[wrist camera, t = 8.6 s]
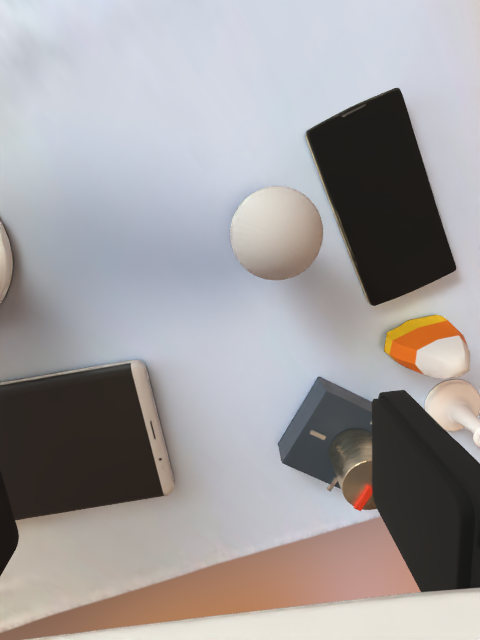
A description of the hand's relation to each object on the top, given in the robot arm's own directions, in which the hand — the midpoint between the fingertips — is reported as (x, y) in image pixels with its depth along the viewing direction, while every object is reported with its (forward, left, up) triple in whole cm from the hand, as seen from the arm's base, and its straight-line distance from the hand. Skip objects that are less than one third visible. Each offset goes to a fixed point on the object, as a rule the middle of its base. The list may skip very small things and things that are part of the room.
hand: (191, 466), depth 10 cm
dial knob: (+10, -16, -22) cm, 29 cm away
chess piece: (+20, -14, -26) cm, 35 cm away
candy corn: (+16, -7, -26) cm, 31 cm away
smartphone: (+14, +5, -25) cm, 29 cm away
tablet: (-20, -13, -26) cm, 35 cm away
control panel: (+10, -16, -25) cm, 31 cm away
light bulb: (+4, +4, -26) cm, 26 cm away
